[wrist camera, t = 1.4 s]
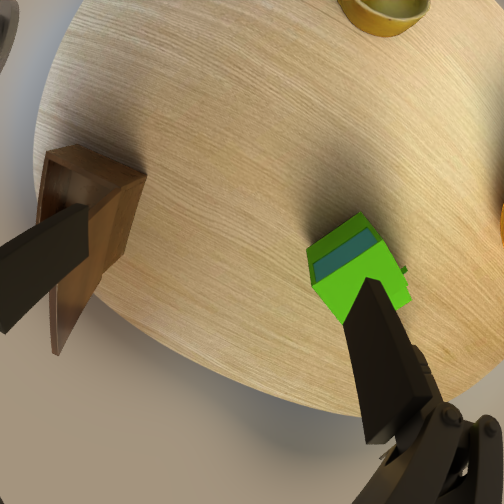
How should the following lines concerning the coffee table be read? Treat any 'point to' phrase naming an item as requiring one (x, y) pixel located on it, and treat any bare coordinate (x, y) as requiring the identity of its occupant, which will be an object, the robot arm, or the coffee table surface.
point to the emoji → (502, 225)
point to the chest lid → (82, 273)
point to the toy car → (354, 266)
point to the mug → (384, 15)
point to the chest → (90, 190)
